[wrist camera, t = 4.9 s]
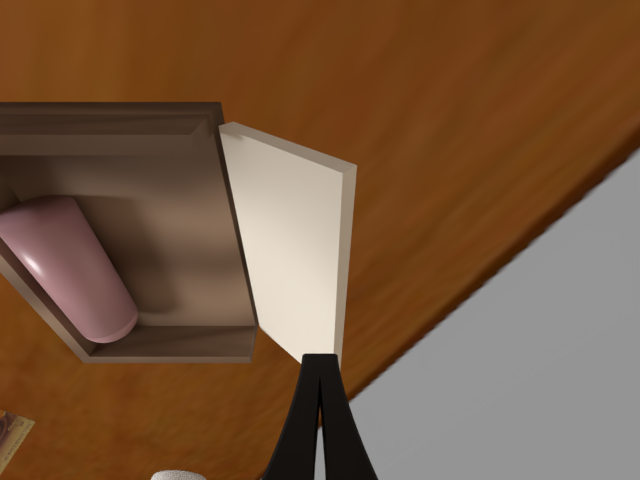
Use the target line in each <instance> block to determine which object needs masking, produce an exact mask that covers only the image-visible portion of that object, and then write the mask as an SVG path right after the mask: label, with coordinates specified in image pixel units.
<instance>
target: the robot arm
mask: <svg viewBox="0 0 640 480" xmlns="http://www.w3.org/2000/svg"><path fill="white" fill-rule="evenodd" d="M319 412H321V424H322V437H323V450H324V462H325V480H378V477H377V475H376V473H375V471H374V468H373V466H372V464H371V462H370V459H369V457H368V454H367V452H366V450H365V447H364V445H363V442H362V440H361V437H360V434H359V432H358V429H357V426H356V424H355V421H354V418H353V415H352V412H351V409H350V406H349V403H348V400H347V396H346V393H345V389H344V385H343V382H342V378H341V373H340V368H339V362H338V355H337V354H335V353H305V354H303V355H302V362H301V368H300V373H299V377H298V382H297V385H296V389H295V393H294V396H293V399H292V402H291V406H290V409H289V412H288V415H287V418H286V421H285V423H284V426H283V429H282V431H281V434H280V437H279V440H278V442H277V445H276V447H275V450H274V452H273V454H272V457H271V459H270V461H269V464H268V466H267V468H266V471H265V473H264V475H263V477H262V479H261V480H315V462H316V450H317V437H318V425H319Z"/></svg>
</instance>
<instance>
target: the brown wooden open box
mask: <svg viewBox="0 0 640 480" xmlns="http://www.w3.org/2000/svg"><path fill="white" fill-rule="evenodd" d="M223 124H225V121H224V116H223V110H222V105H221V102H0V213H1V212H3V211H4V210H6V209H8V208H10V207H12V206H14V205H16V204H18V203H21V202H24V201H27V200H30V199H33V198H37V197H42V196H48V195H67V196H70V197H72V198H74V199H75V201H76V203H77V205H78V206H79V208H80V210H81V211H82V213H83V215H84V217H85V218H86V220H87V222H88V223H89V225H90V227H91V229H92V230H93V232H94V234H95V235H96V237H97V239H98V241H99V242H100V244H101V246H102V247H103V249H104V251H105V253H106V254H107V256H108V258H109V259H110V261H111V263H112V265H113V266H114V268H115V270H116V271H117V273H118V275H119V277H120V278H121V280H122V282H123V283H124V285H125V287H126V289H127V290H128V292H129V294H130V295H131V297H132V299H133V301H134V302H135V304H136V307H137V311H138V317H137V321H136V324H135V326H134V327H133V329H132V330H131V331H130V332H129V333H128V334H127V335H126V336H124V337H123V338H121V339H119V340H117V341H114V342H109V343H97V342H93V341H90V340H88V339H87V338H85V337H84V336H83V335H82V334H81V333H80V332H79V330H78V329H77V328H76V327H75V326H74V324H73V323H72V322H71V321H70V320H69V318H68V317H67V316H66V315H65V314H64V312H63V311H62V310H61V309H60V308H59V306H58V305H57V304H56V303H55V302H54V300H53V299H52V298H51V297H50V296H49V295H48V293H47V292H46V291H45V290H44V289H43V287H42V286H41V285H40V284H39V283H38V281H37V280H36V279H35V278H34V277H33V275H32V274H31V273H30V272H29V271H28V269H27V268H26V267H25V266H24V265H23V263H22V262H21V261H20V260H19V259H18V257H17V256H16V255H15V254H14V253H13V251H12V250H11V249H10V248H9V247H8V245H7V244H6V243H5V242H4V241H3V239H2V238H1V237H0V273H1V274H2V275H3V276H4V277H5V278H6V279H7V280H8V281H9V282H10V283H11V285H12V286H13V287H14V288H15V289H16V290H17V291H18V292H19V293H20V294H21V295H22V296H23V298H24V299H25V300H26V301H27V302H28V303H29V304H30V305H31V306H32V307H33V308H34V310H35V311H36V312H37V313H38V314H39V315H40V316H41V317H42V318H43V319H44V320H45V322H46V323H47V324H48V325H49V326H50V327H51V328H52V329H53V330H54V331H55V332H56V333H57V335H58V336H59V337H60V338H61V339H62V340H63V341H64V342H65V343H66V344H67V345H68V347H69V348H70V349H71V350H72V351H73V352H74V353H75V354H76V355H77V356H78V357H79V359H80V360H81V361H82V362H83V363H251V361H252V356H253V350H254V345H255V340H256V334H257V329H258V324H259V321H258V316H257V311H256V306H255V301H254V296H253V292H252V287H251V282H250V277H249V272H248V267H247V262H246V258H245V253H244V248H243V243H242V238H241V233H240V228H239V223H238V219H237V214H236V209H235V204H234V199H233V194H232V189H231V185H230V180H229V175H228V170H227V165H226V160H225V155H224V150H223V146H222V141H221V136H220V131H219V126H220V125H223Z"/></svg>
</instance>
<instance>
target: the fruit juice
mask: <svg viewBox="0 0 640 480" xmlns="http://www.w3.org/2000/svg"><path fill="white" fill-rule="evenodd" d="M151 480H206V478H205V477H204V476H202V475H200V474H197V473H194V472H189V471H182V470H165V471H160V472H157V473H155V474H154V475H153V477H152V478H151Z"/></svg>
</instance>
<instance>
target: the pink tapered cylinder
mask: <svg viewBox="0 0 640 480" xmlns="http://www.w3.org/2000/svg"><path fill="white" fill-rule="evenodd" d="M0 237H1V238H2V239H3V241H4V242H5V243H6V244H7V245H8V247H9V248H10V249H11V250H12V251H13V253H14V254H15V255H16V256H17V257H18V259H19V260H20V261H21V262H22V263H23V265H24V266H25V267H26V268H27V269H28V271H29V272H30V273H31V274H32V275H33V277H34V278H35V279H36V280H37V281H38V283H39V284H40V285H41V286H42V287H43V289H44V290H45V291H46V292H47V293H48V295H49V296H50V297H51V298H52V299H53V300H54V302H55V303H56V304H57V305H58V306H59V308H60V309H61V310H62V311H63V312H64V314H65V315H66V316H67V317H68V318H69V320H70V321H71V322H72V323H73V324H74V326H75V327H76V328H77V329H78V330H79V332H80V333H81V334H82V335H83V336H84V337H85V338H87V339H88V340H90V341H93V342H97V343H109V342H114V341H117V340H119V339H121V338H123V337H124V336H126V335H127V334H128V333H129V332H130V331H131V330H132V329H133V327H134V326H135V324H136V321H137V317H138V311H137V307H136V304H135V302H134V301H133V299H132V297H131V295H130V294H129V292H128V290H127V289H126V287H125V285H124V283H123V282H122V280H121V278H120V277H119V275H118V273H117V271H116V270H115V268H114V266H113V265H112V263H111V261H110V259H109V258H108V256H107V254H106V253H105V251H104V249H103V247H102V246H101V244H100V242H99V241H98V239H97V237H96V235H95V234H94V232H93V230H92V229H91V227H90V225H89V223H88V222H87V220H86V218H85V217H84V215H83V213H82V211H81V210H80V208H79V206H78V205H77V203H76V201H75V199H74V198H72V197H70V196H67V195H48V196H42V197H37V198H33V199H30V200H27V201H24V202H21V203H18V204H16V205H14V206H12V207H10V208H8V209H6V210H4V211H3V212H1V213H0Z"/></svg>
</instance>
